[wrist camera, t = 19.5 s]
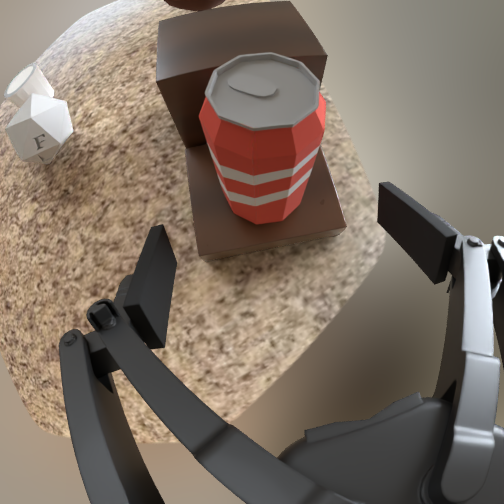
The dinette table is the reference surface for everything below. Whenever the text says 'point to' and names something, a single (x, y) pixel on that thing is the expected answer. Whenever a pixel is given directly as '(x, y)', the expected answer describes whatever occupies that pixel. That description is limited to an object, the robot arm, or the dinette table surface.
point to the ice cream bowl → (194, 4)
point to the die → (40, 128)
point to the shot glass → (28, 85)
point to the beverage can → (263, 132)
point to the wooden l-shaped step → (190, 129)
